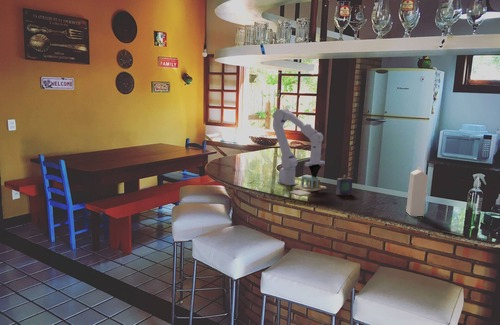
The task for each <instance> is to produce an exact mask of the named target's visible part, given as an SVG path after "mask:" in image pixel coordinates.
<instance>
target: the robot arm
mask: <svg viewBox="0 0 500 325" xmlns="http://www.w3.org/2000/svg"><path fill="white" fill-rule="evenodd" d="M272 117H273V121H272V127H273V130H274V134H275V136H276V137H275V138H276V140H277V143H278V145H279V149H280V152H281V157H280V160H281V164H280V165H281V168H279V172H278V181H277V183H279V184H282V185H286V186H293V185H298V182H296V170H297V169H296V167H297V165H298V164H299V163H298V162H299V161H298V159H297V158H296V156H295V154H294V152H292V151H291V148H290V145H289V144H290V143H289V141H288V138H287V136H286V132H285V129H284V125H285V123H286V122H288V121H290V122H291V123H293V124H294V125H295V126H296V127H298V128H299V129H300V132H301V133H302V134H304V136H305V137H307V138H308V139H309V141H310V156H309V160H308V161H306V162H304V166H305V167H308V168H309V170H310V174H311V176H313V177H317V178H318V173H319V171H320V170H321V168H322V166H321V165H326V164H325V163H326V161H325V160H321V158H322V156H321V155H322V143H323V141H324V135H323V133H322V132H321V131H319V132H318V130H317V129H314V128H313V127H312V125H311V124H308V123H304V122H303V121H302V120H300V118H298V116H296V115H295V114H294V113H293V112H292V111H290V110H289V109H288V108H284V109H283V108H282V109H280V108H277V109H276V110H275V111H274V112H273V114H272Z"/></svg>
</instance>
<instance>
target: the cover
mask: <svg viewBox="0 0 500 325" xmlns="http://www.w3.org/2000/svg"><path fill="white" fill-rule="evenodd" d="M318 179H319V177H318V176H317V177H313V176H312V175H308V174H305V175H302V176H301V184H300V186H304V185H309V184H310V181H311V186H310V188H313V181H316V184H315V187H316V188H317V187H318ZM305 180H306V181H305Z"/></svg>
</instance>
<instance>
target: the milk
mask: <svg viewBox="0 0 500 325" xmlns="http://www.w3.org/2000/svg"><path fill="white" fill-rule="evenodd" d="M409 174H410V175H409V182H408V192H407V201H406V210H405V212H407V213H408V214H409V215H410V216H409V217H417V216H423V217H424V215H425V208H426V207H425V206H426V199H427V198H426V197H427V189H428V181H429V175H428V174H427V173H425V172H423V168H422V167H421V166H419V165H418V166H417V169H415V170H413V171H410V173H409ZM407 213H406V214H407ZM408 214H407V215H408Z"/></svg>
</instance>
